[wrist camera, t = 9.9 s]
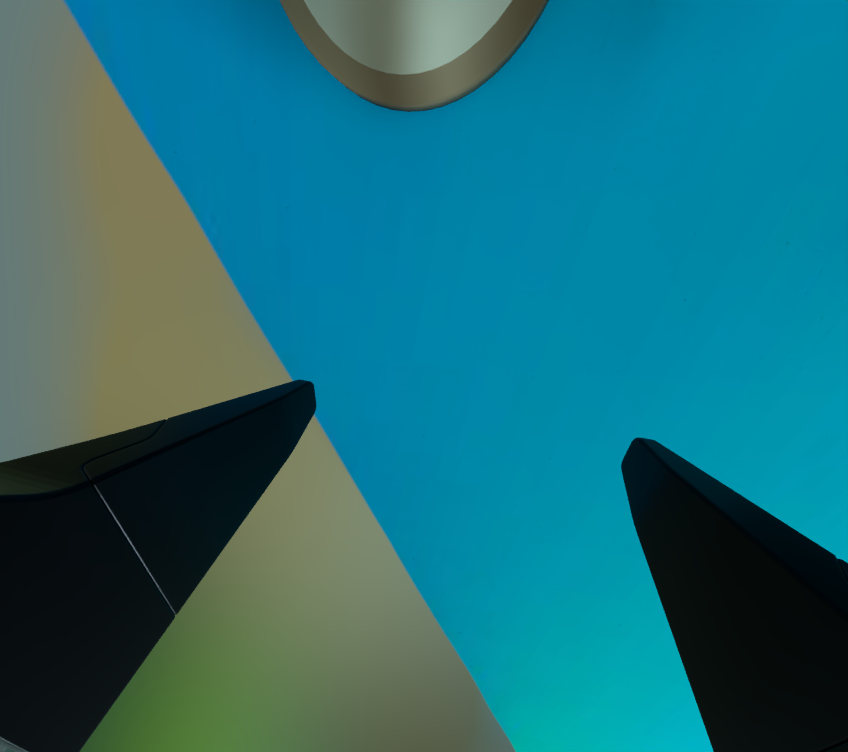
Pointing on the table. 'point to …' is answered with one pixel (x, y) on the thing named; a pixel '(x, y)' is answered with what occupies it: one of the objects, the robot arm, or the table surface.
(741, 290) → the table surface
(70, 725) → the robot arm
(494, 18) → the hub plate
